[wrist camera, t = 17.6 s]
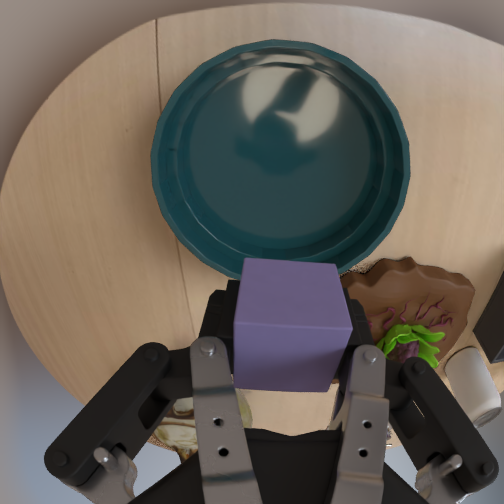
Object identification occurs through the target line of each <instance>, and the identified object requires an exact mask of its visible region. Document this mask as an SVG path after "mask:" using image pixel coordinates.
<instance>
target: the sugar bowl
mask: <svg viewBox="0 0 504 504" xmlns="http://www.w3.org/2000/svg"><path fill="white" fill-rule="evenodd" d="M232 383H233V381H232ZM233 387H234V386H233ZM235 390H236V394H237V399H238V403H239V408H240V413H241V418H242V423H243V427H244V428H252V420H253V419H252V413H251V409H250V406H249V404H248V402H247V401H246V399H245V397H244V396H243V394H242V393H241V392H240V390H239V389H238V388H235ZM152 436H153V437H154V438H156V439H157V440H158V441H160V442H162V443H164V444H165V445H167V446H168V447H170V448H172V449H174V450H175V451H176V452H177V454H178V455H179V457H180V461H181V463H183V462H184V461H185V460H186V459H187V457H186V454H189V457H190V456H191V455H193V454H194V453H195V452H196V451H197V450H198V445H197V437H196V428H195V418H194V408H193V398H192V397H190V398H182V399H177V401H176V402H175V404H174V405H173V406H172V408H171V409H170V411H169V412H168V413H167V415H166V416H165V417H164V419H163V420H162V421H161V423H160V424H159V426H158V427H157V428H156V430H155V431H154V432H153V434H152ZM189 457H188V458H189Z"/></svg>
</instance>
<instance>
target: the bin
mask: <svg viewBox="0 0 504 504" xmlns="http://www.w3.org/2000/svg"><path fill="white" fill-rule="evenodd" d="M473 332H474V334H475V336H476V338H477V340H478V341H479V343H480V345H481V347H482V349H483V351H484V352H485V354H486V356H487V358H488V360H489V362H490V364H492V363H497V362H502V361H504V272H503V274H502V277H501V279H500V281H499V283H498V285H497V287H496V289H495V291H494V293H493V295H492V297H491V299H490V301H489V303H488V305H487V307H486V309H485V310H484V312H483V314H482V316H481V318H480V319H479V321H478V323H477V325H476V326H475V328H474V330H473Z"/></svg>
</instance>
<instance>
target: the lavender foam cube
mask: <svg viewBox="0 0 504 504" xmlns="http://www.w3.org/2000/svg"><path fill="white" fill-rule="evenodd" d="M352 329H353V328H352V323H351V320H350V316H349V312H348V308H347V304H346V300H345V296H344V293H343V289H342V285H341V282H340V278H339V275H338V271H337V268H336V265H335V264H327V263H313V262H299V261H285V260H272V259H258V258H244V263H243V268H242V274H241V280H240V286H239V292H238V298H237V304H236V310H235V316H234V323H233V386H234V388H240V389H252V390H267V391H286V392H328V389H329V387H330V385H331V382H332V380H333V378H334V375H335V373H336V371H337V368H338V366H339V363H340V361H341V358H342V356H343V353H344V351H345V348H346V346H347V343H348V340H349V338H350V335H351V332H352Z"/></svg>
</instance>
